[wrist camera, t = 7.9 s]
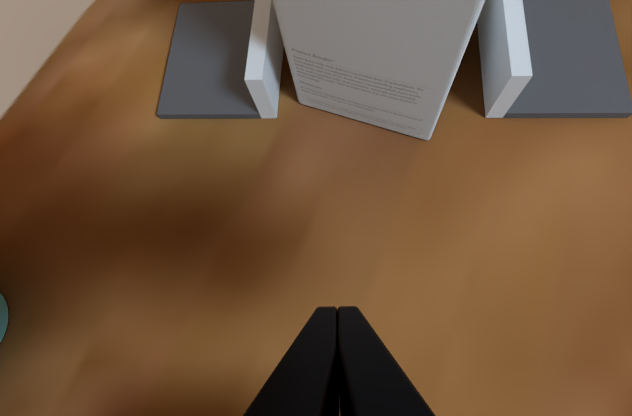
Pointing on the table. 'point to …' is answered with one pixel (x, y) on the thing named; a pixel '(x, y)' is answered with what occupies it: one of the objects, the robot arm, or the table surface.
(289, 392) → the robot arm
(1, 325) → the cupcake
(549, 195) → the table surface
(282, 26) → the supplement box
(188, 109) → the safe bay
